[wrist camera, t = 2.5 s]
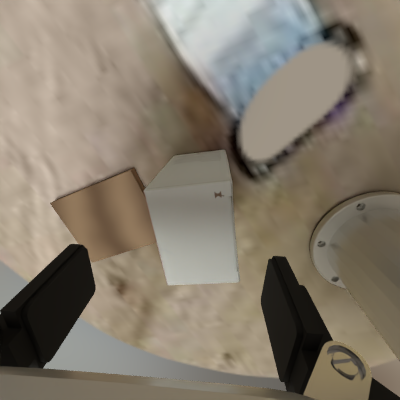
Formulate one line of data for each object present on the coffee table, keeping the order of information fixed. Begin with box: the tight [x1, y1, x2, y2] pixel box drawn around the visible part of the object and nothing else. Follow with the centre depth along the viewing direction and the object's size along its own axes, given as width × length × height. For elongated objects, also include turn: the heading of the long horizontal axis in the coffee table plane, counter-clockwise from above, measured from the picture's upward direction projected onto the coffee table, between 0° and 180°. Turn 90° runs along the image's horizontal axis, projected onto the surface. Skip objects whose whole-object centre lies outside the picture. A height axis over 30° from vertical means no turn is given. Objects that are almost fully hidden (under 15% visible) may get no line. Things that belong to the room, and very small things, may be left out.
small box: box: [143, 150, 240, 285], centre depth 19 cm, size 8×6×10 cm
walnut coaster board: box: [50, 168, 156, 262], centre depth 26 cm, size 11×9×1 cm
